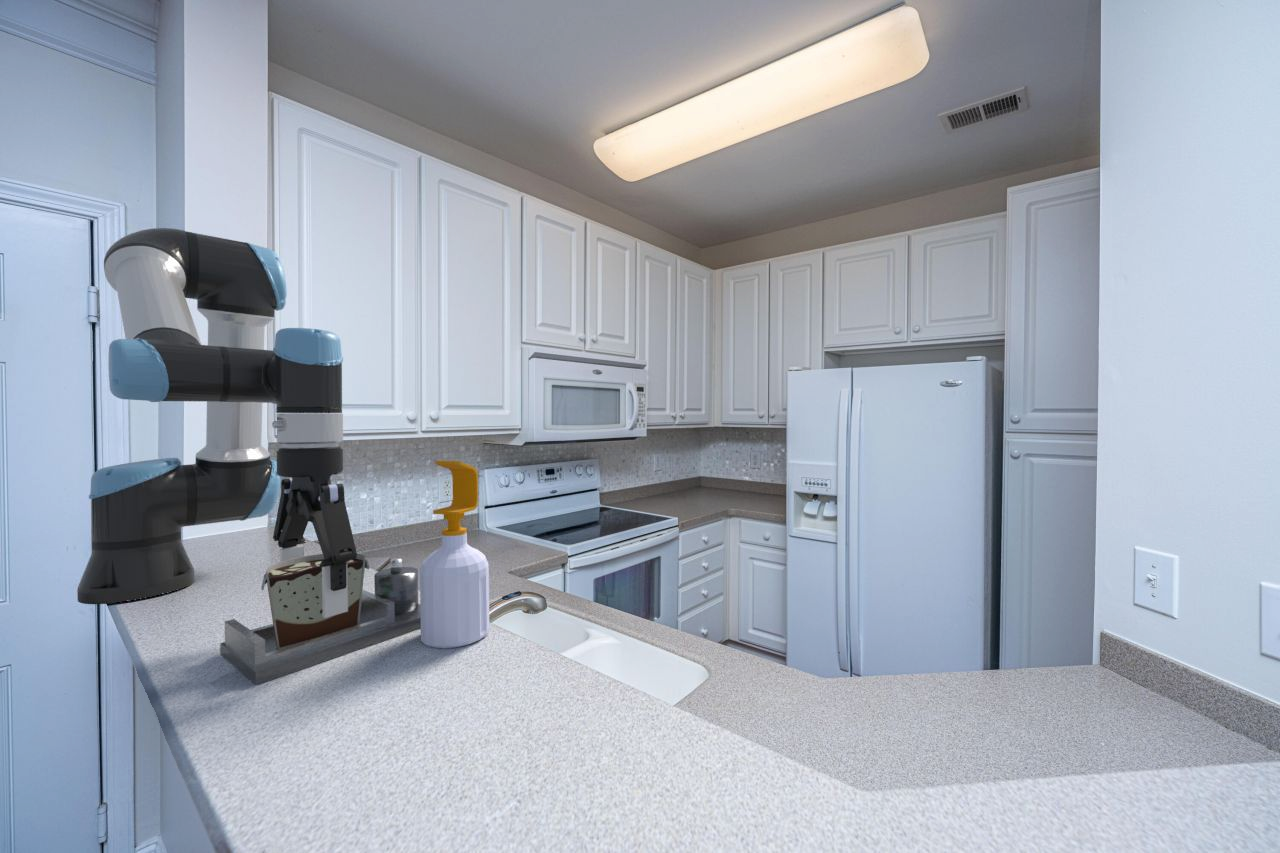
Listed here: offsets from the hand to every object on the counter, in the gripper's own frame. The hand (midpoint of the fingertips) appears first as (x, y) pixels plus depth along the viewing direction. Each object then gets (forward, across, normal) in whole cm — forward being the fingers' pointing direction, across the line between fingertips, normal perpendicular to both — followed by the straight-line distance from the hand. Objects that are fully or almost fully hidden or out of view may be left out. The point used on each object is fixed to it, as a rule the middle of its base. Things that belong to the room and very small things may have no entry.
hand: (312, 603), depth 70 cm
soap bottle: (+6, +13, +13) cm, 19 cm away
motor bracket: (+6, 0, +3) cm, 6 cm away
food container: (+4, 0, 0) cm, 4 cm away
